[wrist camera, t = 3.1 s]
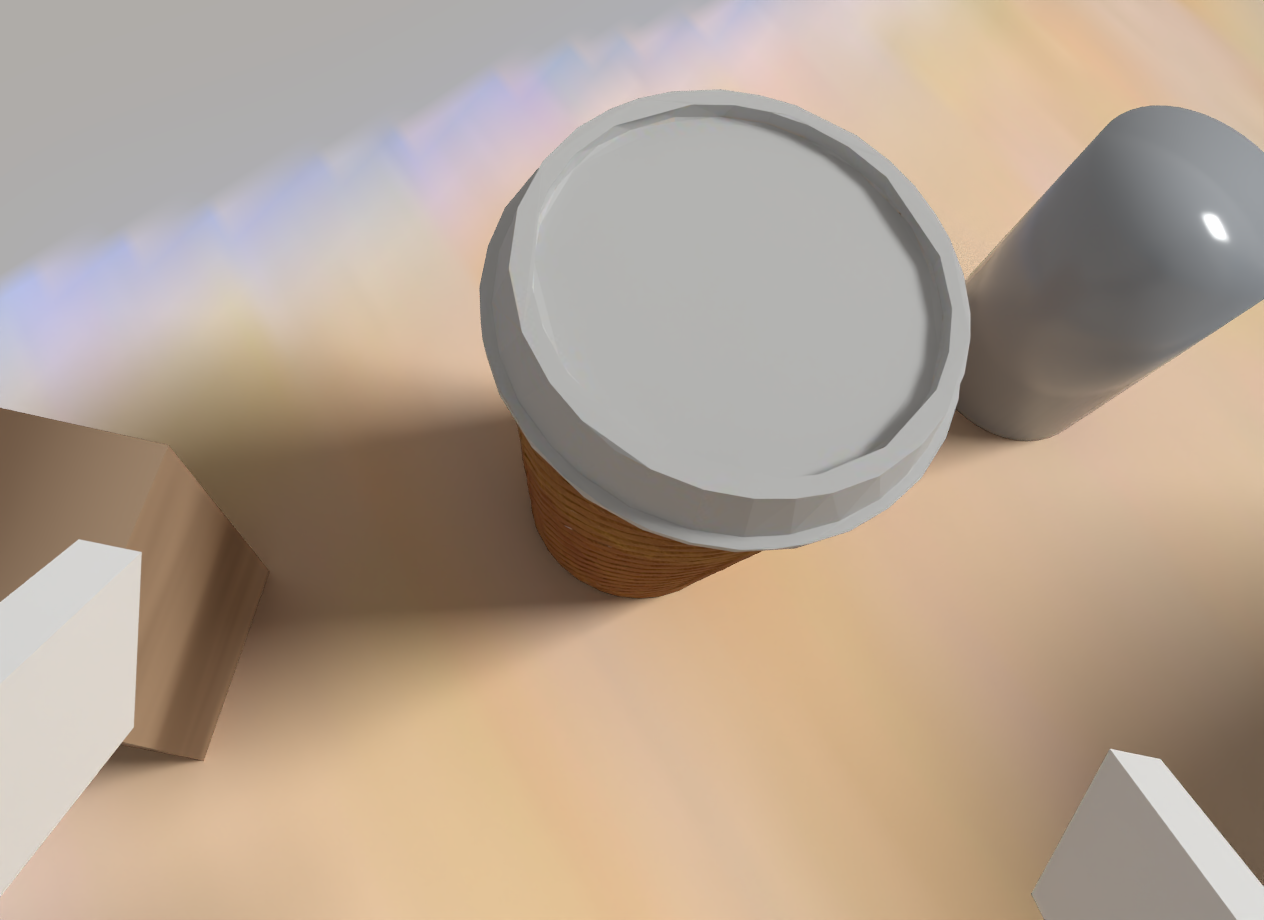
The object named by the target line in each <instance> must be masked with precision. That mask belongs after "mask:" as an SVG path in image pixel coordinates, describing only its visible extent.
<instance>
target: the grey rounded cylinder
mask: <svg viewBox="0 0 1264 920" xmlns="http://www.w3.org/2000/svg"><path fill="white" fill-rule="evenodd" d="M965 285H966V291H967V296H968V302H969V308H970V344H969V350H968V356H967V362H966V368H965V374H964V376H963V379H962V381H961V383H960V389H959V399H958V403H957V406H956V409H957V410H958V411H959V412H960V413H961V414H962V415H964V416H965V417H966V418H967V419H969V420H970V421H971V422H973V423H974V424H976V425H977V426H979V427H981V428H983V429H984V430H986V431H988V432H991V433H993V434H995V435H998V436H1001V437H1005V438H1008V439H1014V440H1022V441H1033V440H1041V439H1046V438H1050V437H1052V436H1055V435H1057V434H1059V433H1061V432H1062V431H1064V430H1066V429H1067V428H1069V427H1070V426H1072V425H1073V424H1075V423H1076V422H1078V421H1079V420H1081V419H1082V418H1084V417H1085V416H1087V415H1088V414H1090V413H1092V412H1093V411H1095V410H1096V409H1098V408H1099V407H1101V406H1102V405H1104V404H1105V403H1107V402H1108V401H1110V400H1111V399H1113V398H1114V397H1116V396H1117V395H1119V394H1120V393H1122V392H1123V391H1125V390H1126V389H1128V388H1130V387H1131V386H1133V385H1134V384H1136V383H1137V382H1139V381H1140V380H1142V379H1143V378H1145V377H1146V376H1148V375H1149V374H1151V373H1152V372H1154V371H1155V370H1157V369H1158V368H1160V367H1161V366H1163V365H1164V364H1166V363H1168V362H1169V361H1171V360H1172V359H1174V358H1175V357H1177V356H1178V355H1180V354H1181V353H1183V352H1184V351H1186V350H1187V349H1189V348H1190V347H1192V346H1193V345H1195V344H1196V343H1198V342H1199V341H1201V340H1202V339H1204V338H1206V337H1207V336H1209V335H1210V334H1212V333H1213V332H1215V331H1216V330H1218V329H1219V328H1221V327H1222V326H1224V325H1225V324H1227V323H1228V322H1230V321H1231V320H1233V319H1234V318H1236V317H1237V316H1239V315H1241V314H1242V313H1244V312H1245V311H1247V310H1248V309H1250V308H1251V307H1253V306H1254V305H1256V304H1257V303H1259V302H1260V301H1262V300H1263V299H1264V152H1263V151H1262V150H1260V149H1259V148H1258V147H1257V146H1256V145H1255V144H1254V143H1252V142H1251V141H1250V140H1249V139H1247V138H1246V137H1245V136H1243V135H1242V134H1240V133H1239V132H1237V131H1236V130H1234V129H1233V128H1231V127H1229V126H1227V125H1226V124H1224V123H1222V122H1220V121H1218V120H1216V119H1214V118H1211V117H1209V116H1207V115H1204V114H1201V113H1198V112H1195V111H1192V110H1188V109H1184V108H1179V107H1172V106H1146V107H1140V108H1136V109H1133V110H1130V111H1127V112H1125V113H1123V114H1121V115H1119V116H1118V117H1116V118H1115V119H1113V120H1112V121H1111V122H1110V123H1109V124H1108V125H1107V126H1106V127H1105V128H1104V129H1103V130H1102V131H1101V132H1100V133H1099V135H1098V136H1097V137H1096V138H1095V139H1094V140H1093V141H1092V142H1091V143H1090V144H1089V145H1088V147H1087V148H1086V149H1085V150H1084V151H1083V152H1082V153H1081V154H1080V155H1079V156H1078V157H1077V159H1076V160H1075V161H1074V162H1073V163H1072V164H1071V165H1070V166H1069V167H1068V168H1067V169H1066V171H1065V172H1064V173H1063V174H1062V175H1061V176H1060V177H1059V178H1058V179H1057V180H1056V181H1055V183H1054V184H1053V185H1052V186H1051V187H1050V188H1049V189H1048V190H1047V191H1046V192H1045V194H1044V195H1043V196H1042V197H1041V198H1040V199H1039V200H1038V201H1037V202H1036V203H1035V204H1034V206H1033V207H1032V208H1031V209H1030V210H1029V211H1028V212H1027V213H1026V214H1025V215H1024V216H1023V218H1022V219H1021V220H1020V221H1019V222H1018V223H1017V224H1016V225H1015V226H1014V227H1013V228H1012V230H1011V231H1010V232H1009V233H1008V234H1007V235H1006V236H1005V237H1004V238H1003V239H1002V240H1001V242H1000V243H999V244H998V245H997V246H996V247H995V248H994V249H993V250H992V251H991V252H990V254H989V255H988V256H987V257H986V258H985V259H984V260H983V261H982V262H981V263H980V264H979V266H978V267H977V268H976V269H975V270H974V271H973V272H972V273H971V274H970V275H969V276H968V278H967V279H966V280H965Z"/></svg>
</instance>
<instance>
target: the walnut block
mask: <svg viewBox="0 0 1264 920" xmlns="http://www.w3.org/2000/svg"><path fill="white" fill-rule="evenodd" d="M78 539H80V540H85V541H90V542H95V543H100V544H105V545H110V546H114V547H119V548H124V549H129V550H134V551H139V552H142V556H141V579H140V601H139V623H138V645H137V667H136V690H135V712H134V728H133V729H132V730H131V731H130V733H129V734H128V735H127V737H126V738H125V739H124V740H123V742H122V743H121V744H120V745H125V746H130V747H135V748H140V749H145V750H151V751H156V752H161V753H166V754H171V755H177V756H182V757H187V758H192V759H198V760H203V761H204V758H205V755H206V752H207V749H208V746H209V743H210V741H211V738H212V735H213V732H214V729H215V726H216V723H217V720H218V718H219V715H220V712H221V709H222V706H223V703H224V700H225V698H226V695H227V692H228V689H229V686H230V683H231V680H232V677H233V675H234V672H235V669H236V666H237V663H238V660H239V657H240V654H241V652H242V649H243V646H244V643H245V640H246V637H247V634H248V631H249V629H250V626H251V623H252V620H253V617H254V614H255V611H256V609H257V606H258V603H259V600H260V597H261V594H262V591H263V588H264V586H265V583H266V580H267V577H268V574H269V570H268V569H267V568H266V567H265V565H264V564H263V563H262V562H261V560H260V559H259V558H258V557H257V555H256V554H255V553H254V552H253V550H252V549H251V548H250V547H249V545H248V544H247V543H246V541H245V540H244V539H243V538H242V536H241V535H240V534H239V533H238V531H237V530H236V529H235V528H234V526H233V525H232V524H231V523H230V521H229V520H228V519H227V518H226V516H225V515H224V514H223V513H222V511H221V510H220V509H219V508H218V506H217V505H216V504H215V503H214V501H213V500H212V499H211V498H210V496H209V495H208V494H207V493H206V491H205V490H204V489H203V488H202V486H201V485H200V484H199V483H198V481H197V480H196V479H195V478H194V476H193V475H192V474H191V473H190V471H189V470H188V469H187V467H186V466H185V465H184V464H183V462H182V461H181V460H180V459H179V457H178V456H177V455H176V454H175V452H174V451H173V450H172V449H171V447H170V446H169V445H166V444H161V443H157V442H152V441H148V440H143V439H139V438H134V437H130V436H125V435H121V434H116V433H112V432H107V431H102V430H98V429H93V428H89V427H84V426H80V425H75V424H71V423H66V422H62V421H57V420H53V419H48V418H44V417H39V416H35V415H30V414H25V413H21V412H16V411H12V410H7V409H3V408H0V602H1V601H2V600H4V599H5V598H6V597H7V596H9V595H10V594H11V593H12V592H14V591H15V590H16V589H17V588H19V587H20V586H21V585H22V584H24V583H25V582H26V581H27V580H29V579H30V578H31V577H32V576H34V575H35V574H36V573H37V572H39V571H40V570H41V569H42V568H44V567H45V566H46V565H47V564H49V563H50V562H51V561H52V560H54V559H55V558H56V557H57V556H58V555H60V554H61V553H62V552H63V551H65V550H66V549H67V548H68V547H70V546H71V545H72V544H73V543H75V542H76V541H77V540H78Z"/></svg>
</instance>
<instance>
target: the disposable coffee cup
mask: <svg viewBox="0 0 1264 920" xmlns="http://www.w3.org/2000/svg"><path fill="white" fill-rule="evenodd" d="M480 314H481V328H482V338H483V342H484V347H485V351H486V355H487V358H488V361H489V364H490V368H491V371H492V374H493V377H494V380H495V383H496V386H497V389H498V392H499V395H500V396H501V398H502V400H503V401H504V403H505V404H506V406H507V408H508V409H509V411H510V413H511V414H512V416H513V417H514V419H515V421H516V422H517V426H518V432H519V437H520V441H521V449H522V458H523V461H524V468H525V471H526V476H527V485H528V488H529V495H530V499H531V506H532V513H533V517H534V521H535V525H536V528H537V530H538V532H539V534H540V536H541V538H542V540H543V541H544V543H545V545H546V547H547V548H548V550H549V552H550V553H551V554H552V555H553V556H554V558H555V559H556V560H557V561H558V563H559V564H560V565H561V566H562V567H564V568H565V569H566V570H567V571H568V572H570V573H571V574H572V575H573V576H574V577H576V578H577V579H578V580H580V581H582V582H584V583H586V584H588V585H590V586H592V587H594V588H596V589H598V590H600V591H603V592H606V593H609V594H613V595H616V596H622V597H631V598H647V597H659V596H663V595H666V594H669V593H673V592H676V591H679V590H681V589H683V588H685V587H687V586H689V585H690V584H693V583H694V582H696V581H699V580H701V579H703V578H705V577H708V576H710V575H711V574H714V573H716V572H718V571H721V570H723V569H725V568H727V567H729V566H731V565H733V564H735V563H737V562H739V561H741V560H744V559H746V558H749V557H751V556H752V555H754V554H757V553H759V552H761V551H763V550H778V549H794V548H798V547H801V546H804V545H807V544H810V543H814V542H817V541H820V540H823V539H826V538H829V537H833V536H836V535H839V534H842V533H845V532H848V531H851V530H852V529H854V528H856V527H857V526H859V525H861V524H863V523H864V522H866V521H868V520H869V519H871V518H873V517H874V516H876V515H878V514H879V513H881V512H883V511H884V510H886V509H888V508H889V507H890V506H891V505H893V504H894V503H895V502H896V501H897V500H898V499H899V498H900V497H901V496H902V495H903V494H904V493H905V492H907V491H908V490H909V489H910V488H911V487H912V486H913V485H914V484H915V483H916V482H917V481H918V480H920V479H921V478H922V476H923V474H924V473H925V471H926V469H927V468H928V466H929V465H930V463H931V461H932V460H933V458H934V457H935V455H936V453H937V452H938V450H939V448H940V447H941V445H942V444H943V442H944V440H945V439H946V437H947V434H948V430H949V427H950V424H951V421H952V418H953V415H954V412H955V409H956V406H957V403H958V399H959V389H960V383H961V381H962V379H963V376H964V374H965V368H966V362H967V356H968V350H969V344H970V308H969V302H968V296H967V291H966V285H965V279H964V274H963V272H962V269H961V266H960V264H959V261H958V259H957V256H956V254H955V251H954V248H953V246H952V243H951V241H950V238H949V237H948V235H947V233H946V231H945V230H944V228H943V226H942V224H941V223H940V221H939V219H938V217H937V216H936V214H935V213H934V211H933V210H932V209H931V207H930V206H929V205H928V203H927V202H926V200H925V199H924V198H923V196H922V195H921V194H920V192H919V191H918V190H917V188H916V187H915V186H914V185H913V184H912V183H911V182H910V181H909V180H908V179H907V178H906V177H905V176H904V175H903V174H902V173H901V172H900V171H899V170H898V169H897V168H896V167H895V166H894V165H893V164H892V163H891V162H890V161H889V160H888V159H887V158H885V157H884V156H883V155H881V154H880V153H879V152H877V151H876V150H875V149H874V148H872V147H871V146H870V145H868V144H867V143H866V142H864V141H863V140H862V139H860V138H859V137H858V136H856V135H854V134H852V133H850V132H848V131H846V130H844V129H842V128H840V127H838V126H836V125H834V124H832V123H830V122H828V121H826V120H824V119H822V118H820V117H818V116H816V115H814V114H812V113H810V112H808V111H806V110H804V109H802V108H800V107H798V106H796V105H793V104H789V103H786V102H782V101H778V100H775V99H771V98H767V97H764V96H760V95H754V94H747V93H741V92H734V91H727V90H721V89H720V90H697V91H674V92H668V93H663V94H658V95H653V96H648V97H643V98H638V99H636V100H633V101H630V102H628V103H625V104H622V105H620V106H617V107H614V108H612V109H610V110H608V111H606V112H604V113H603V114H601V115H599V116H597V117H596V118H594V119H592V120H590V121H589V122H587V123H585V124H583V125H582V126H580V127H578V128H577V129H576V130H575V131H574V132H573V133H572V134H571V135H570V136H569V137H568V138H566V139H565V140H564V141H563V142H562V143H561V144H560V145H559V146H558V147H557V148H556V149H555V150H554V151H553V152H552V153H551V154H550V155H549V156H548V157H547V158H546V159H545V160H544V161H543V162H542V164H541V166H540V168H538V169H537V170H536V171H535V173H534V174H533V175H532V176H531V177H530V179H529V180H528V181H527V182H526V183H525V185H524V186H523V187H522V188H521V189H520V191H519V192H518V193H517V194H516V195H515V197H514V198H513V199H512V200H511V201H510V203H509V204H508V205H507V206H506V207H505V209H504V212H503V214H502V216H501V218H500V221H499V223H498V225H497V227H496V230H495V232H494V234H493V236H492V239H491V241H490V243H489V245H488V249H487V254H486V259H485V264H484V268H483V273H482V278H481V283H480Z"/></svg>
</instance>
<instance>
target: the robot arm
mask: <svg viewBox="0 0 1264 920" xmlns="http://www.w3.org/2000/svg"><path fill="white" fill-rule="evenodd" d="M141 556H142V552H139V551H134V550H129V549H124V548H119V547H114V546H110V545H105V544H100V543H95V542H90V541H85V540H80V539H78V540H77V541H76V542H75V543H73V544H72V545H71V546H70V547H68V548H67V549H66V550H65V551H63V552H62V553H61V554H60V555H58V556H57V557H56V558H55V559H54V560H52V561H51V562H50V563H49V564H47V565H46V566H45V567H44V568H42V569H41V570H40V571H39V572H37V573H36V574H35V575H34V576H32V577H31V578H30V579H29V580H27V581H26V582H25V583H24V584H22V585H21V586H20V587H19V588H17V589H16V590H15V591H14V592H12V593H11V594H10V595H9V596H7V597H6V598H5V599H4V600H2V601H1V602H0V897H1V895H2V894H3V893H4V892H5V890H6V889H7V888H8V887H9V885H10V884H11V883H12V881H13V880H14V879H15V878H16V876H17V875H18V874H19V873H20V871H21V870H22V869H23V867H24V866H25V865H26V864H27V862H28V861H29V860H30V859H31V857H32V856H33V855H34V853H35V852H36V851H37V850H38V848H39V847H40V846H41V845H42V843H43V842H44V841H45V839H46V838H47V837H48V836H49V834H50V833H51V832H52V831H53V829H54V828H55V827H56V825H57V824H58V823H59V822H60V820H61V819H62V818H63V817H64V815H65V814H66V813H67V812H68V810H69V809H70V808H71V806H72V805H73V804H74V803H75V801H76V800H77V799H78V798H79V796H80V795H81V794H82V792H83V791H84V790H85V789H86V787H87V786H88V785H89V784H90V782H91V781H92V780H93V778H94V777H95V776H96V775H97V773H98V772H99V771H100V770H101V768H102V767H103V766H104V764H105V763H106V762H107V761H108V759H109V758H110V757H111V756H112V754H113V753H114V752H115V751H116V749H117V748H118V747H119V745H120V744H121V743H122V742H123V740H124V739H125V738H126V737H127V735H128V734H129V733H130V731H131V730H132V729H133V728H134V712H135V690H136V667H137V645H138V623H139V601H140V579H141ZM1031 894H1032V896H1033V898H1034V900H1035V902H1036V904H1037V906H1038V908H1039V910H1040V912H1041V914H1042V916H1043V918H1044V920H1264V886H1263V885H1262V884H1261V883H1260V881H1259V880H1258V879H1257V878H1256V877H1255V875H1254V874H1253V873H1252V872H1251V870H1250V869H1249V868H1248V867H1247V865H1246V864H1245V863H1244V862H1243V860H1242V859H1241V858H1240V857H1239V855H1238V854H1237V853H1236V852H1235V851H1234V849H1233V848H1232V847H1231V846H1230V844H1229V843H1228V842H1227V841H1226V839H1225V838H1224V837H1223V836H1222V834H1221V833H1220V832H1219V831H1218V829H1217V828H1216V827H1215V826H1214V825H1213V823H1212V822H1211V821H1210V820H1209V818H1208V817H1207V816H1206V815H1205V813H1204V812H1203V811H1202V810H1201V808H1200V807H1199V806H1198V805H1197V803H1196V802H1195V801H1194V800H1193V799H1192V797H1191V796H1190V795H1189V794H1188V792H1187V791H1186V790H1185V789H1184V787H1183V786H1182V785H1181V784H1180V782H1179V781H1178V780H1177V779H1176V777H1175V776H1174V775H1173V774H1172V773H1171V771H1170V770H1169V769H1168V768H1167V766H1166V765H1165V764H1164V763H1163V761H1162V760H1161V759H1158V758H1153V757H1148V756H1143V755H1138V754H1133V753H1128V752H1123V751H1119V750H1114V749H1109V751H1108V753H1107V755H1106V757H1105V759H1104V760H1103V762H1102V764H1101V766H1100V768H1099V770H1098V771H1097V773H1096V775H1095V777H1094V779H1093V781H1092V783H1091V784H1090V786H1089V788H1088V790H1087V792H1086V794H1085V795H1084V797H1083V799H1082V801H1081V803H1080V805H1079V807H1078V808H1077V810H1076V812H1075V814H1074V816H1073V818H1072V819H1071V821H1070V823H1069V825H1068V827H1067V829H1066V830H1065V832H1064V834H1063V836H1062V838H1061V840H1060V842H1059V843H1058V845H1057V847H1056V849H1055V851H1054V853H1053V854H1052V856H1051V858H1050V860H1049V862H1048V864H1047V866H1046V867H1045V869H1044V871H1043V873H1042V875H1041V877H1040V878H1039V880H1038V882H1037V884H1036V886H1035V888H1034V889H1033V891H1032V893H1031Z"/></svg>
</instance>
